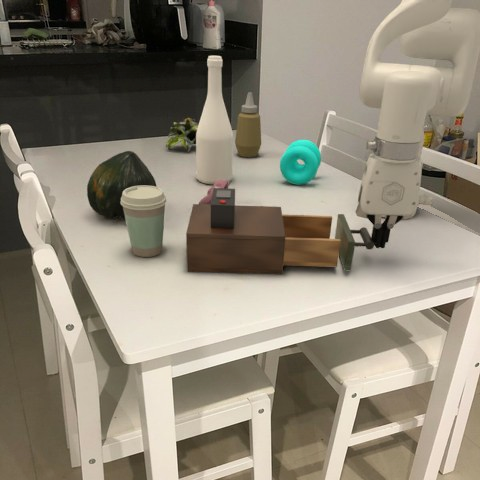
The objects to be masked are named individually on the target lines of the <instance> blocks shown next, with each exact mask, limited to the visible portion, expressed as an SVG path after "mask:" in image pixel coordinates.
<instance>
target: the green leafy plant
mask: <svg viewBox="0 0 480 480" xmlns="http://www.w3.org/2000/svg"><path fill="white" fill-rule="evenodd" d="M198 125H199V122H196V120H195V118H193V119H192V118H190V117H187V118H182V121H180V122H175V121H174V122H173V126H174V127H170V130H171V131H170V132H169V134H168V138H169V139H168V140H167V141H166V144H165V148H167V149H168V150H170V149H171V148H172V147H174V146H175V145H177V144H179V143H181V144H182V146H183V147H184V148H185V149H187V148H188V150H187V154H189V152H190V150H191V148H192V146H193V145H196V133H197V129H198ZM187 146H188V147H187Z"/></svg>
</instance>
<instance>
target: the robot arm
mask: <svg viewBox="0 0 480 480" xmlns="http://www.w3.org/2000/svg"><path fill="white" fill-rule="evenodd" d="M452 3H453V0H401V2H400V4H399V5H397V6H396V7H395V8H394V9H393V10H392V11H391V12H390V13H388V15H386V17H385V18H383V20H382V21H381V22H380V24H379V25H378V26H377V27H376V29H375V31H374V32H373V34H372V35H371V37H370V39H369V42H368V45H367V48H366V52H365V55H364V62H363V66H362V71H361V76H360V83H359V93H358V94H359V99H360V101H361V103H362V105H364V106H365V107H368V108H370V109H371V108H372V109H379V110H380V111H379V116H378V117H379V118H378V124H377V130H376V135H375V136H374V139H373V140H372V141H367V142H366V150H370V151H372V152H373V153H370V154H369V155H368V159H367V162H366V163H365V168H364V170H363V174H362V176H361V177H362V178H361V181H360V186H359V191H358V195H357V203H358V204H357V207H356V209H355V212H354V213H355V215H356V216H357V217H359V218H363V219H367V220H368V221H369V222H370V223H371V224H372V231H371V235H370V236H371V238H372V241H373V243H374V248H375V249H385V248H386V245H387V244H388V243H389V241H390V235H391V230H392V229H394V227H395V225H397V224H398V223H399V222H401V221H402V220H408V219H412V218H414V216H415V215H416V214H417V209H418V206H419V205H423V206H432V205H433V202H434V199H433V196H425V194H424V193H420V191H421V183H422V173H423V172H422V171H423V160H422V159H421V158H422V153H423V148H424V143H425V131H424V128H425V122H426V118H427V116H434V117H443V118H457V117H459V116H461V115H462V114H463V113H464V112H465V110H467V107H468V104H469V101H470V97H471V93H472V89H473V84H474V79H475V75H476V70H477V66H478V61H479V57H480V10H477V9H474V8H467V7H452ZM398 38H400V50H401V53H402V54H403V55H404V56H406V57H409V58H415V59H421V60H435V61H436V60H437V61H447V62H450V63H452V66H453V67H449V66H435V65H434V66H433V65H425V64H409V63H408V64H406V63H393V62H381V59H382V56H383V53H384V51H385V49H386V48H387V47H388V46H390V44H392V42H394V41H395V40H396V39H398ZM382 218H384V219H383V221H382ZM386 243H387V244H386Z"/></svg>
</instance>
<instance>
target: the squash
mask: <svg viewBox="0 0 480 480" xmlns="http://www.w3.org/2000/svg"><path fill="white" fill-rule="evenodd" d="M141 185H147V186H155V187H158V186H157V183H156V179H155V177H154V176H153V174H152V172H151V171H150V169H149V168H148V167H147V165H146V164H145V163H144V161H143V160H142V159H141V158H140V157H139V155H138V154H137V153H135V152H134V151H132V150H126V151H123V152H119V153H117V154H115V155H113V156H111V157H109V158H108V159H106V160H104V161H103V162H101V163H99V164H98V165H97V166H96V168H94V170H93V172H92V173H91V175H90V176H89V180H88V182H87V186H86V196H87V200H88V204H89V206H90V207H91V209H92V210H93V211H94V213H96V214H98V215H100V216H102V217H104V218H106V219H116V218H118V217H119V218H120V219H125V215H124V210H123V206H122V205H121V203H120V202H121V197H122V193H123V191H124V190H125V189H127V188H129V187H133V186H141Z"/></svg>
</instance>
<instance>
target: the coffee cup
mask: <svg viewBox="0 0 480 480" xmlns="http://www.w3.org/2000/svg"><path fill="white" fill-rule="evenodd" d="M167 202H168V201H167V197H166V195H165V193H164V190H163V189H162V188H161V187H159V186H157V187H155V186H147V185H141V186H133V187H129V188H127V189H125V190H124V191H123V193H122V197H121V202H120V203H121V205H122V206H123V210H124V215H125V218H124V219H125V224H126V228H127V229H126V230H127V233H128V238H129V242H130V247H131V251H132V254H133V255H135V256H137V257H141V258H150V257H155V256H158V255H160V254H162V252H163V242H164V228H165V226H164V225H165V214H166V213H165V210H166V204H167Z"/></svg>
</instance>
